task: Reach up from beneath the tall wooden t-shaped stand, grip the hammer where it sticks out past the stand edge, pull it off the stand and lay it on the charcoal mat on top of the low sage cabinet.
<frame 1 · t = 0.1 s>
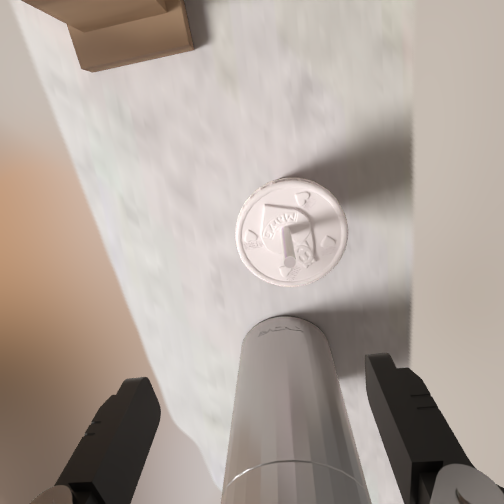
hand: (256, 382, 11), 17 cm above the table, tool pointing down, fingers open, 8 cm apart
smoothie: (283, 199, 26), on the table
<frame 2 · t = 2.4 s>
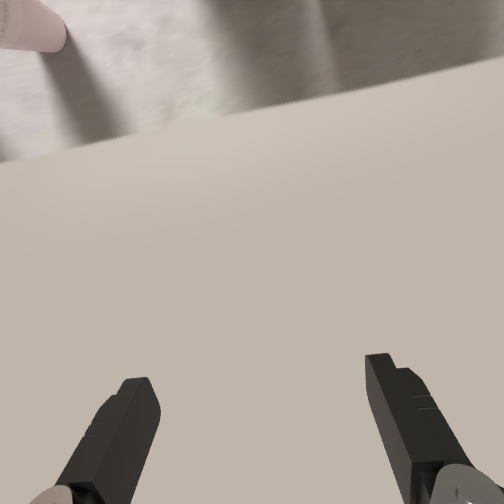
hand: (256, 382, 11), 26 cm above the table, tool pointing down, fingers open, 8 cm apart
smoothie: (48, 30, 29), on the table
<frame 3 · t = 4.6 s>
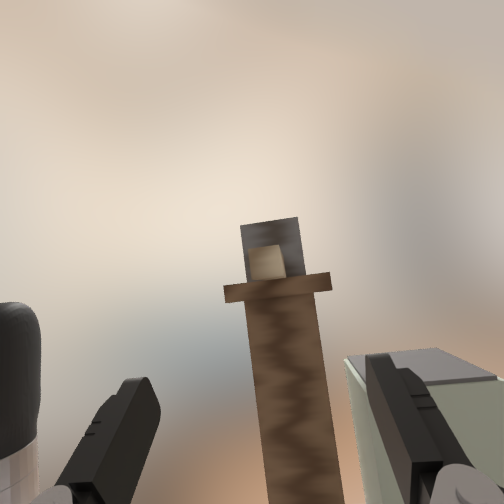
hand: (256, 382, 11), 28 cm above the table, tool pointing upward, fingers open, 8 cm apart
hammer: (273, 278, 31), point 32 cm above the table, touching wooden t-shaped stand
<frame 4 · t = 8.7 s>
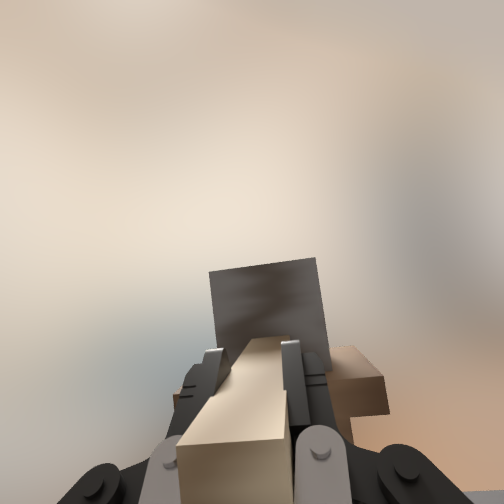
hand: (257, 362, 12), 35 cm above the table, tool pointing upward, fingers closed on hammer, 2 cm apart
hammer: (270, 407, 14), point 32 cm above the table, touching gripper, wooden t-shaped stand
when the fingers open (26 cm above the table, at t = 15.3 s): hammer drops 2 cm, resting on sage cabinet.
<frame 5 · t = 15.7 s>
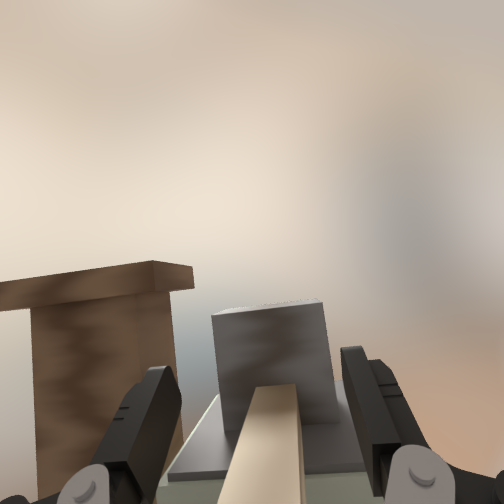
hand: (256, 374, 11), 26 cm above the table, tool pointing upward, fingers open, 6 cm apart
hammer: (277, 477, 13), point 21 cm above the table, touching sage cabinet
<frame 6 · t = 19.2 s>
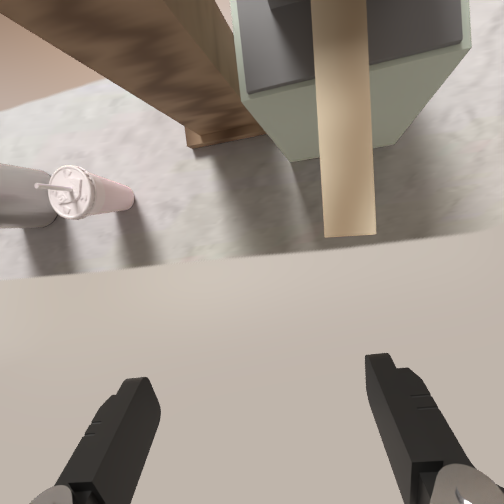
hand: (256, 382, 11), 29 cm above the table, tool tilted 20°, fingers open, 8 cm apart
wooden t-shaped stand: (230, 109, 39), on the table
hammer: (340, 85, 16), point 21 cm above the table, touching sage cabinet
smoothie: (124, 197, 45), on the table
sage cabinet: (335, 102, 36), on the table
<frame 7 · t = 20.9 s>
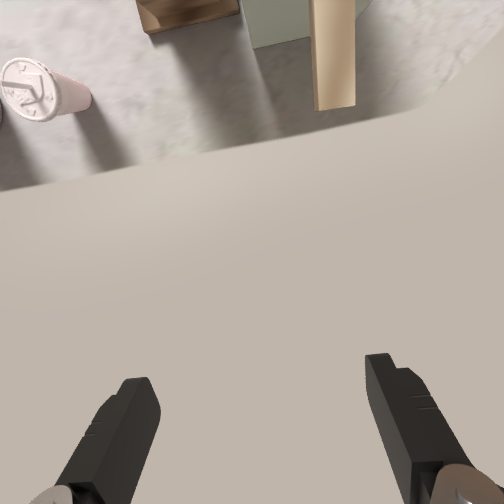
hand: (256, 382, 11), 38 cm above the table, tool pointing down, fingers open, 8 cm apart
smoothie: (79, 96, 43), on the table
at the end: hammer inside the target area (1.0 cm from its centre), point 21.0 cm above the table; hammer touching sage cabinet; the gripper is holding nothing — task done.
